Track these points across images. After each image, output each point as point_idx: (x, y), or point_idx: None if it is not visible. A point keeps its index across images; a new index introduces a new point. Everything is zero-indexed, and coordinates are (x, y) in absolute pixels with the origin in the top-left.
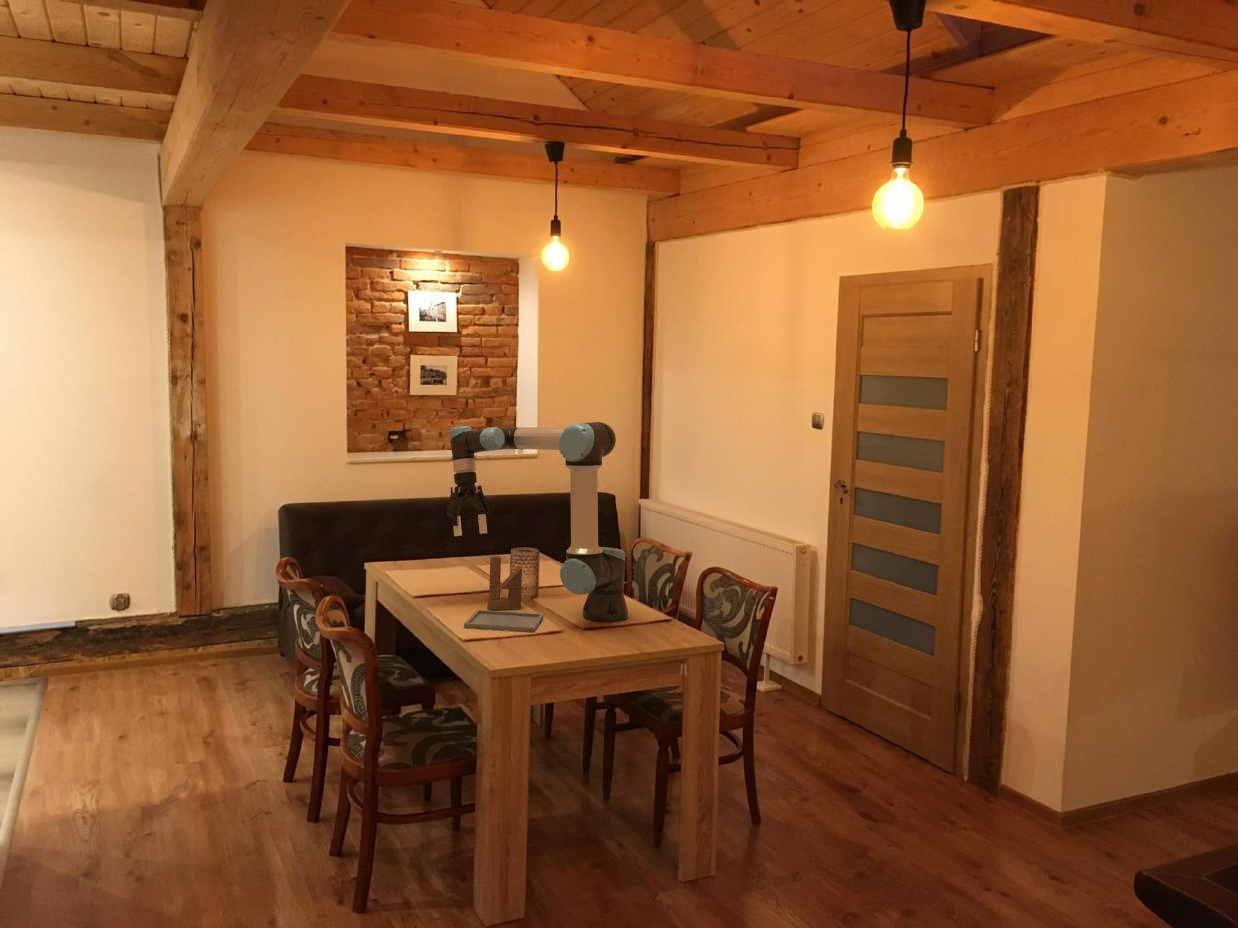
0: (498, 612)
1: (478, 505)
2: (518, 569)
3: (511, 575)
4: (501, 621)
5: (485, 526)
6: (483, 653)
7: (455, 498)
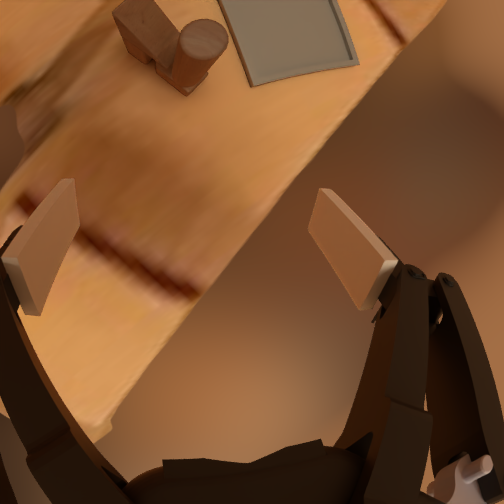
0: (242, 36)
1: (34, 360)
2: (139, 1)
3: (149, 26)
4: (290, 13)
5: (56, 198)
6: (425, 11)
7: (489, 376)
